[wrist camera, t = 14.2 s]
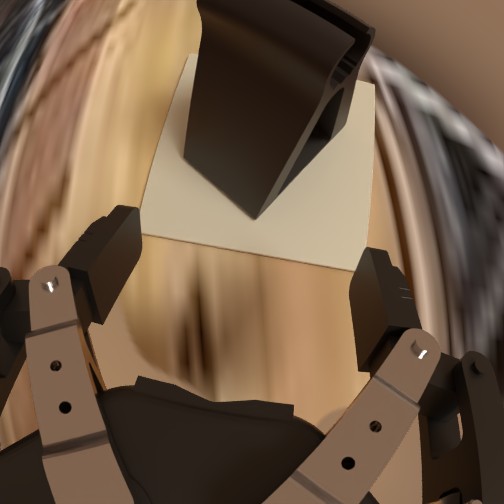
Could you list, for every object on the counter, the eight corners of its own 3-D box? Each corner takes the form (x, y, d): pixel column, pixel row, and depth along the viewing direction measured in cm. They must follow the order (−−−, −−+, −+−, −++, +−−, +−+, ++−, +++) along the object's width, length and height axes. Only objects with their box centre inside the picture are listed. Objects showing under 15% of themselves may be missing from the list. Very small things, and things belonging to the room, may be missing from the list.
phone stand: (277, 76, 21) (296, -66, 9) (345, 127, 20) (417, -4, 8) (183, 159, 20) (123, 21, 8) (254, 221, 19) (265, 113, 7)
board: (138, 233, 20) (135, 231, 19) (191, 58, 21) (189, 53, 21) (359, 273, 20) (362, 272, 19) (372, 89, 21) (374, 84, 21)
